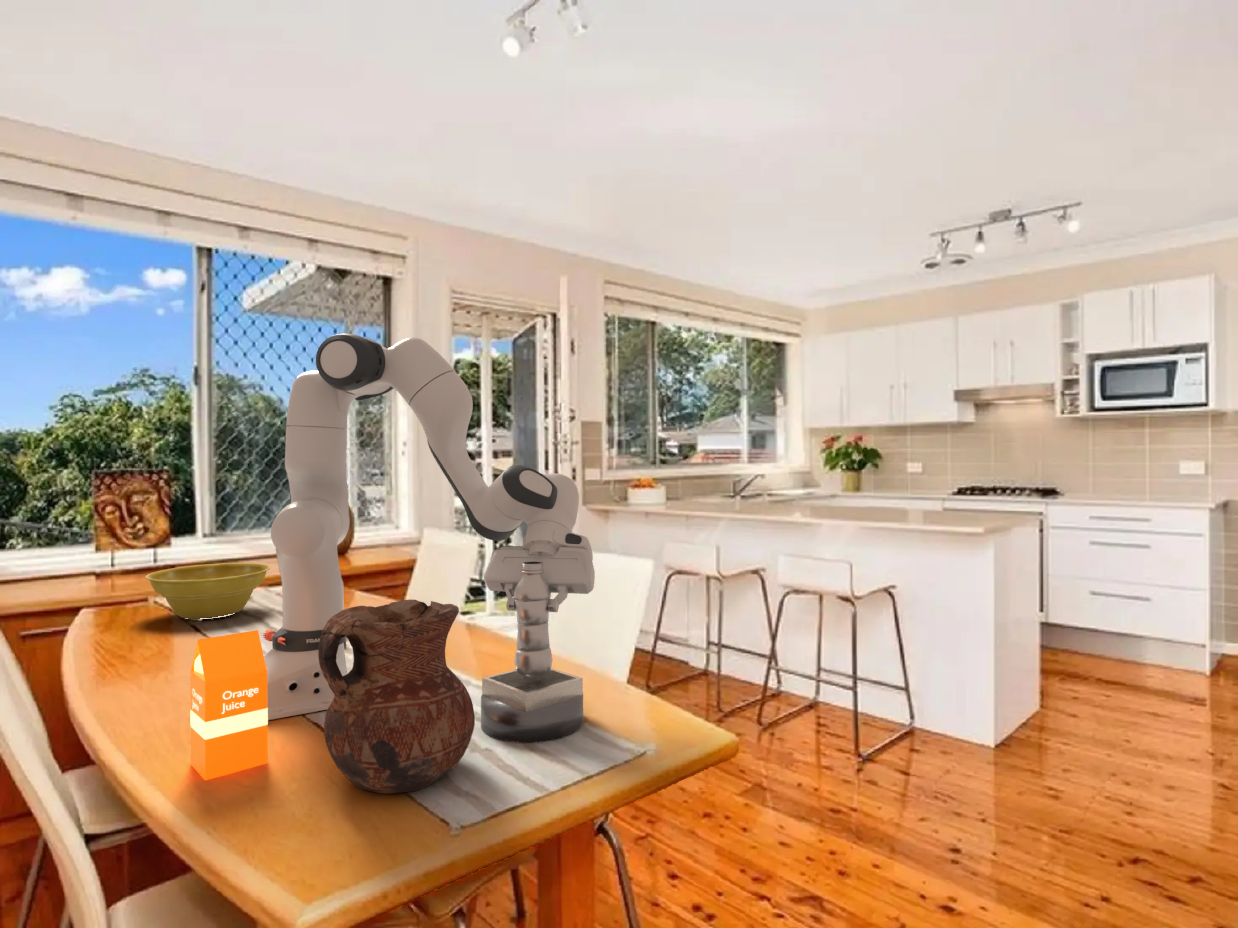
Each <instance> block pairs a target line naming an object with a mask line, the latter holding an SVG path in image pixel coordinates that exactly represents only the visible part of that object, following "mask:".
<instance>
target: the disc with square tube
mask: <svg viewBox="0 0 1238 928" xmlns="http://www.w3.org/2000/svg"><path fill="white" fill-rule="evenodd" d="M583 678H584V677H579V676H577V675H574V674H571V673H567V672H565V671H562V670H559V669H555V668H553V667H551V669H550V671H549V672H548V673H547V674H545V675H540V676H524V675H521V674H519V673H518V671H517V670H516V669H512V670H508V671H505V672H504V671H503V672H501V673H497V674H496V673H495V674H493V675H489V676H484V677H482V679H481V680H482V684H481V685H482V688H481V690H482V691H481V693H482V694H481V697H480V729H481V730H482V732H483V734H486V735H487V736H489V737H491V738H493V739H496V740H500V741H504V742H509V743H510V742H511V743H518V744H519V743H520V744H521V743H523V744H524V743H525V744H526V743H529V744H530V743H543V742H544V743H545V742H550V741H551V742H552V741H555V740H558V739H559V740H560V739H563V738H566V737H569V736H571V735H573V734H575V733H576V732H578V731H579V730H580V729H581V728H582V726H583V725H584V692H583V691H584V690H583V686H584V685H583V684H584V682H583Z"/></svg>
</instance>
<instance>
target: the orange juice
mask: <svg viewBox="0 0 1238 928" xmlns="http://www.w3.org/2000/svg"><path fill="white" fill-rule="evenodd" d="M264 656H265V654H264V651H263V647H262V643H261V638H260V634H259V629H257V630H250V631H243V632H237V633H231V634H230V633H229V634H226V635H225V634H224V635H219V636H218V635H217V636H211V637H205V638H199V639H197V641H196V646H195V651H194V655H193V659H192V663H191V669H190V679H189V681H190V683H189V685H190V710H189V711H190V712H189V713H190V714H189V718H190V722H189V723H190V724H189V725H190V766H191V767H193V769H194V770H195V771H196V772H197V773H198V775H200V777H201V778H203V780H205V781H208V780H212V779H215V778H219V777H222V776H227V775H230V774H231V775H232V774H234V773H237V772H241V771H245V770H248V769H251V768H255V767H259V766H262V765H266V764H269V763H268V761H269V760H268V759H269V758H268V757H269V755H268V753H269V752H268V751H269V750H268V747H269V745H268V743H269V742H268V725H269V720H268V708H267V669H266V664H265V660H264Z"/></svg>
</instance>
